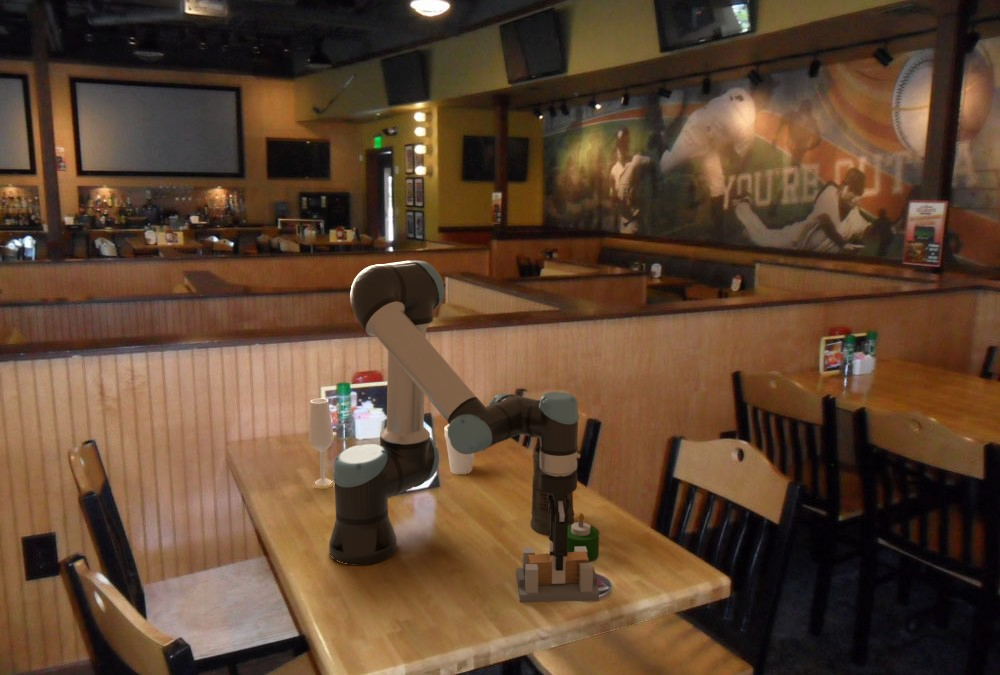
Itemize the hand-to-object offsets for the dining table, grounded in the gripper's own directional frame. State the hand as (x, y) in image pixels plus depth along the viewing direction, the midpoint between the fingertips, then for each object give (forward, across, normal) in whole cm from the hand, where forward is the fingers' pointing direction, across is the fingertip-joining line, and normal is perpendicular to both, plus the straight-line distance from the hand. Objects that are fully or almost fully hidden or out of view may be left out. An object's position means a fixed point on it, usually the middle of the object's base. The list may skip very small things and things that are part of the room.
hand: (557, 577), depth 159 cm
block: (+1, 0, 0) cm, 1 cm away
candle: (+3, +14, -7) cm, 16 cm away
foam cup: (+2, +66, +20) cm, 69 cm away
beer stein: (+2, +31, -3) cm, 31 cm away
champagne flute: (+2, +57, +58) cm, 81 cm away
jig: (+2, 0, 0) cm, 2 cm away
